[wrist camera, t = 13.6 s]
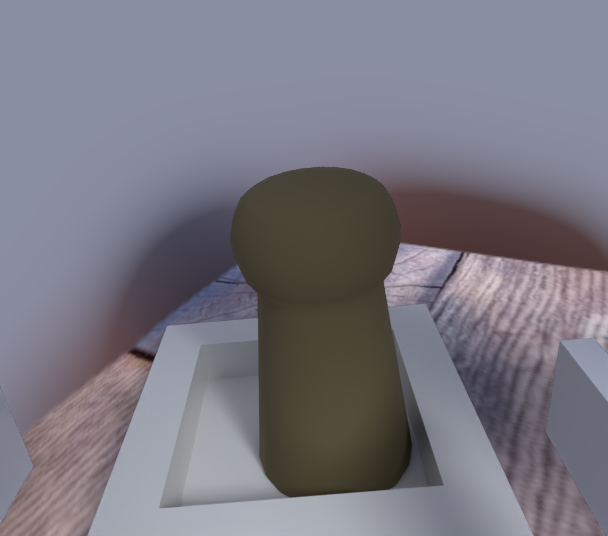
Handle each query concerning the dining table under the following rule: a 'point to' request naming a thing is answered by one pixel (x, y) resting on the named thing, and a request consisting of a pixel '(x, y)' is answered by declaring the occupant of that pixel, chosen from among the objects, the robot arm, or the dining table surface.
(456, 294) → the dining table surface
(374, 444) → the olive pawn
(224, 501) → the well block
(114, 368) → the dining table surface
